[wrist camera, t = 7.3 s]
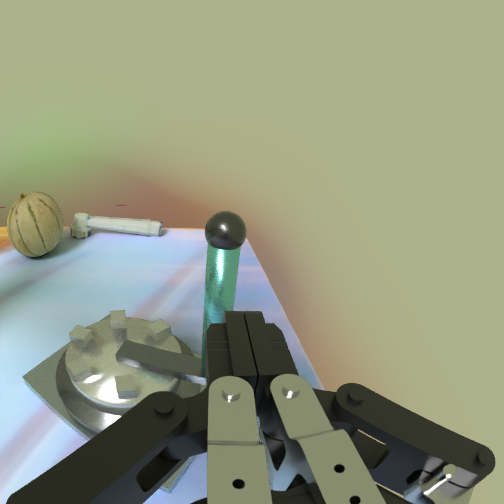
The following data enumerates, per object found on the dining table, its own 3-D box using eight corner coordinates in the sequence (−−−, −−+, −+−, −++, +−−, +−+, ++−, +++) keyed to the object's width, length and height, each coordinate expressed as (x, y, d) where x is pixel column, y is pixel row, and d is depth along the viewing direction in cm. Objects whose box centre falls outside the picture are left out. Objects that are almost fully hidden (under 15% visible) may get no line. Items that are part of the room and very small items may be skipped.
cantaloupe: (77, 247, 62) (74, 185, 56) (36, 273, 48) (26, 202, 42) (40, 238, 63) (36, 182, 57) (1, 259, 50) (-8, 197, 44)
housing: (26, 384, 25) (16, 365, 24) (112, 320, 41) (109, 302, 40) (169, 493, 19) (165, 481, 18) (243, 380, 35) (246, 361, 33)
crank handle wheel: (51, 388, 23) (0, 212, 16) (103, 323, 35) (90, 178, 28) (214, 445, 22) (233, 249, 15) (235, 355, 34) (257, 196, 27)
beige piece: (162, 225, 72) (68, 212, 63) (158, 249, 74) (67, 237, 65) (162, 218, 76) (73, 206, 67) (158, 241, 79) (72, 230, 69)
